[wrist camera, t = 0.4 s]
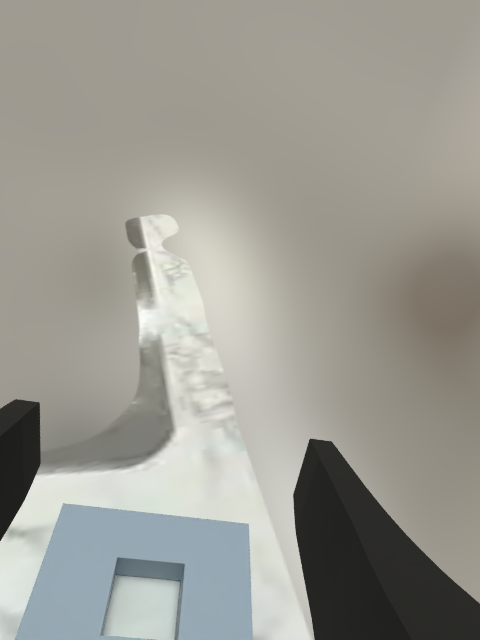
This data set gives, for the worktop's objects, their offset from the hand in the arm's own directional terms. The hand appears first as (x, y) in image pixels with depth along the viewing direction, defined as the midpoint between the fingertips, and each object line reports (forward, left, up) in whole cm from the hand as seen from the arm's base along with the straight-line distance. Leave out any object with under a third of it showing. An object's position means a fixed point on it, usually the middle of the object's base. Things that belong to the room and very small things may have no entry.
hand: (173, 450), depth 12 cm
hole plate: (+4, 0, -19) cm, 20 cm away
